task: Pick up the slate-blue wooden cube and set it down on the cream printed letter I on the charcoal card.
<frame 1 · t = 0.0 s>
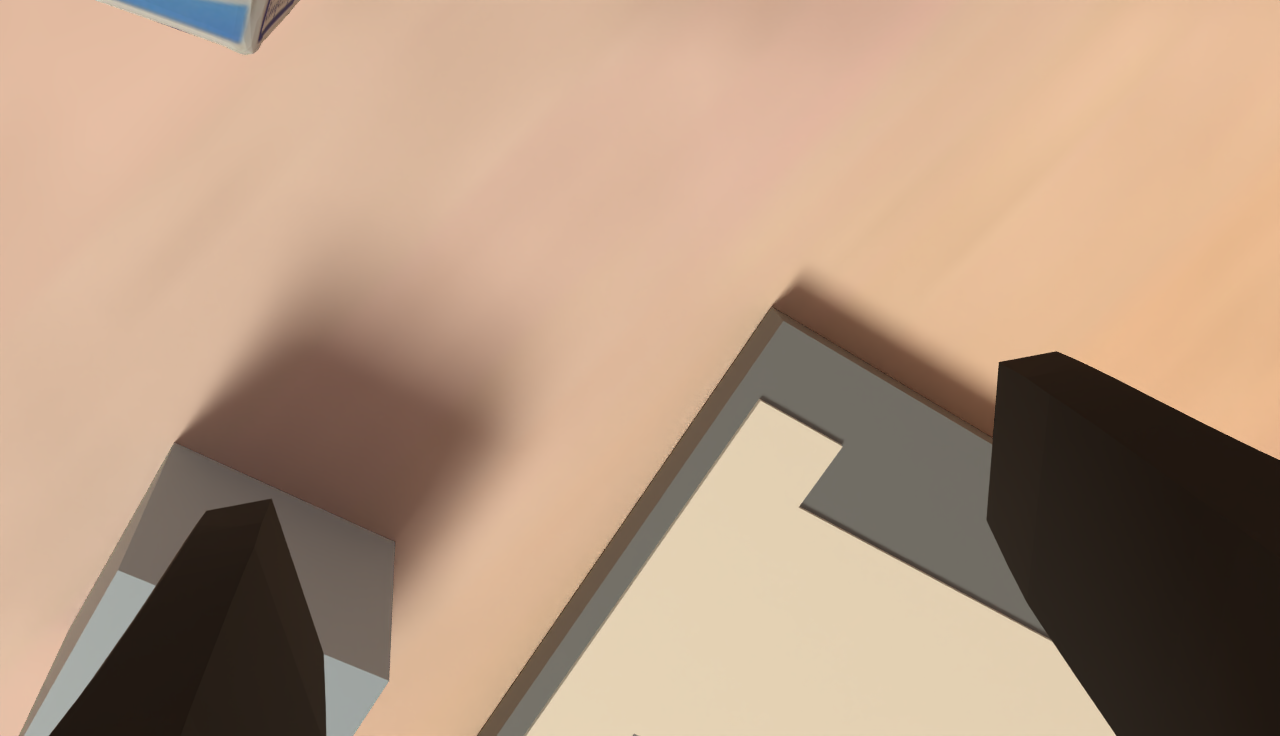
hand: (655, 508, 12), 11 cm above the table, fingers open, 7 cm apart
letter card: (868, 678, 27), on the table
slate cube: (234, 583, 23), on the table
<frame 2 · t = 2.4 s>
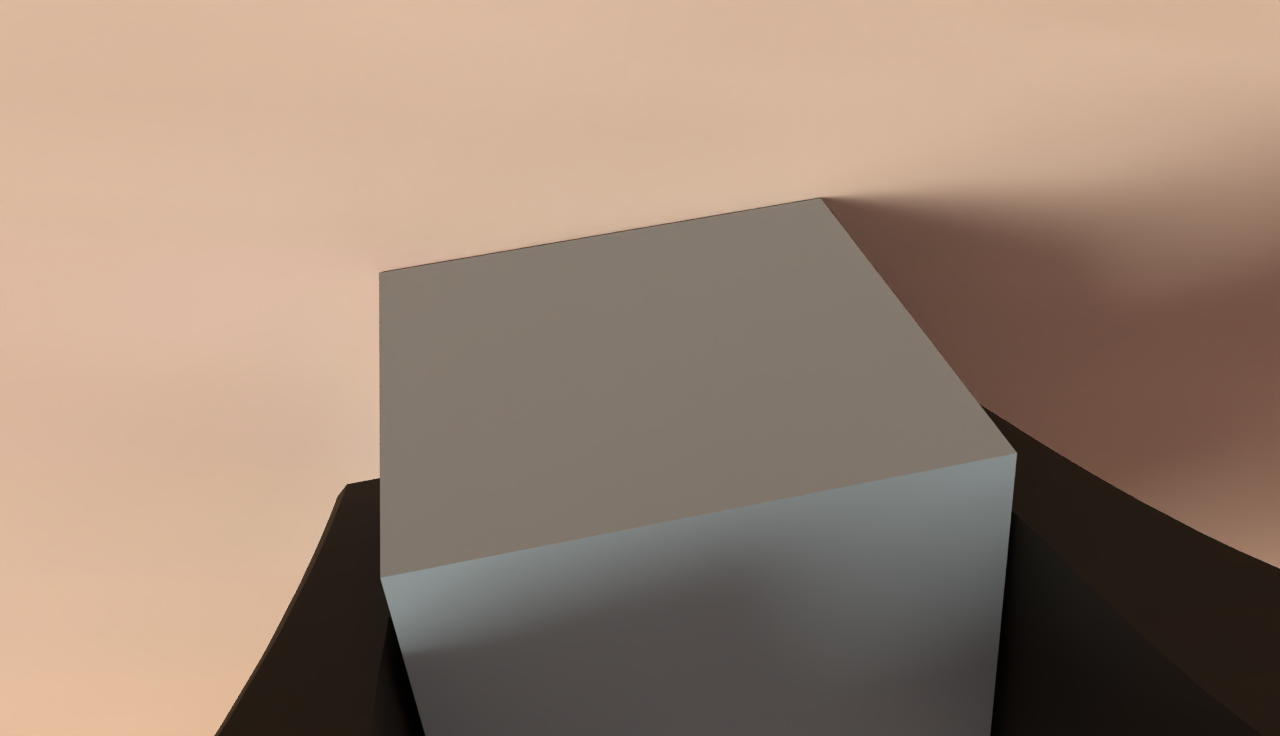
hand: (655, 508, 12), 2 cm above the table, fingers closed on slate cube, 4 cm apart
slate cube: (626, 417, 13), on the table, touching gripper
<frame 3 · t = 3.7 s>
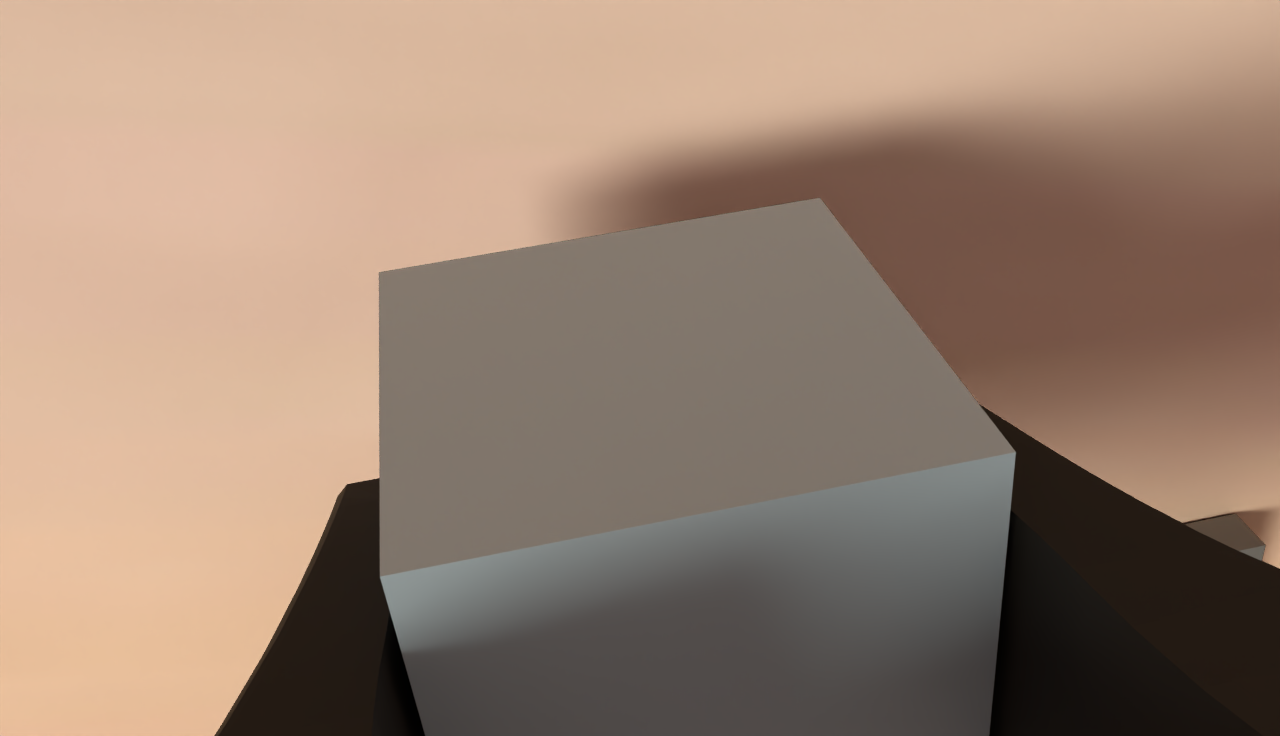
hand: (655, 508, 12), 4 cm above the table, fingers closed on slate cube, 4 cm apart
slate cube: (626, 416, 13), point 3 cm above the table, touching gripper
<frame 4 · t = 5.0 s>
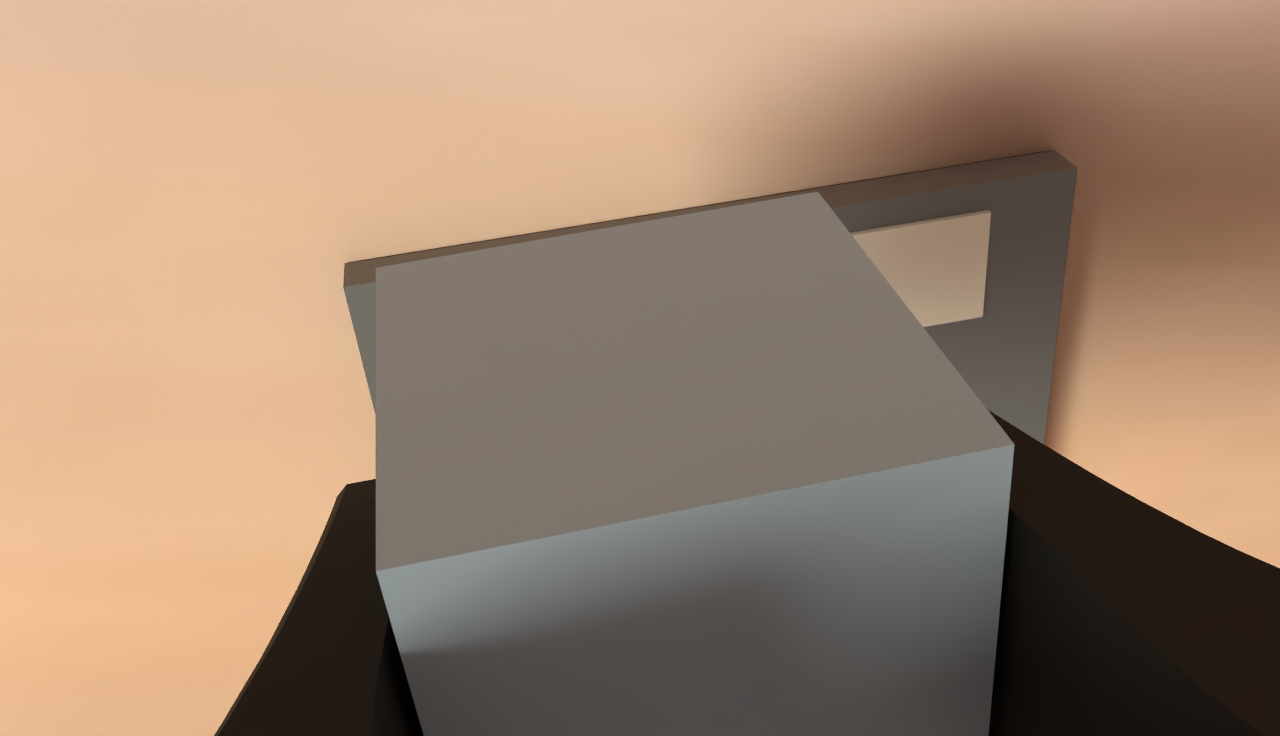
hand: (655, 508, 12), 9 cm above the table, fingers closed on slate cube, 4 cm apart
letter card: (730, 529, 24), on the table
slate cube: (624, 412, 13), point 7 cm above the table, touching gripper
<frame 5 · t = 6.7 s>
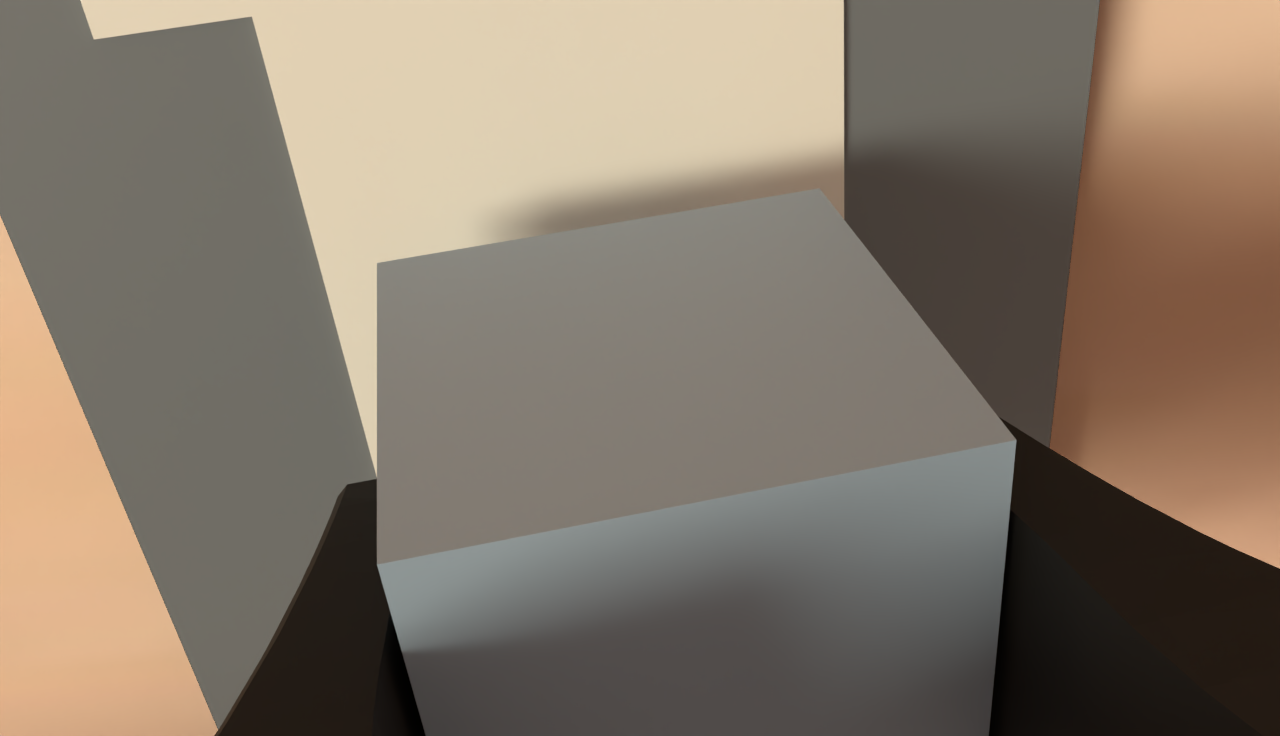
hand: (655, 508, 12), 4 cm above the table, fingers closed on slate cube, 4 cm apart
letter card: (593, 315, 15), on the table
slate cube: (625, 409, 13), point 2 cm above the table, touching gripper
when the fingers open (4 cm above the table, at t = 7.9 s): slate cube drops 1 cm, resting on letter card.
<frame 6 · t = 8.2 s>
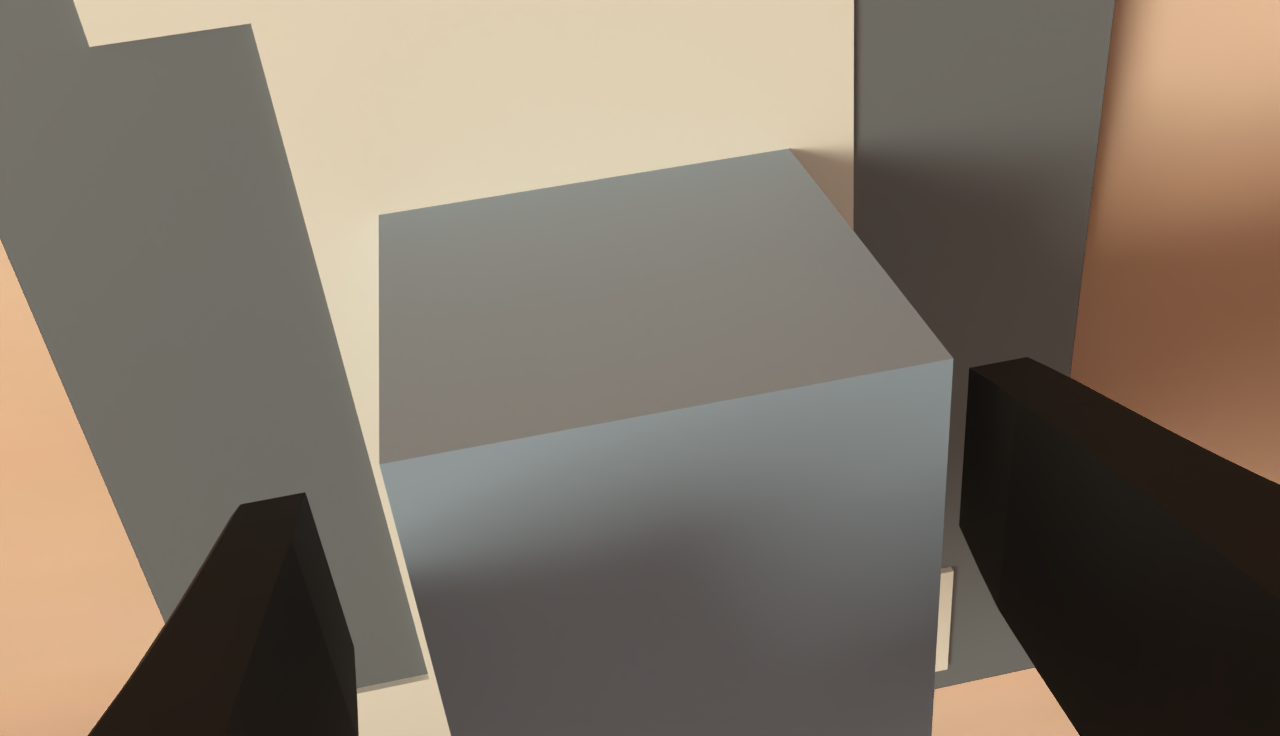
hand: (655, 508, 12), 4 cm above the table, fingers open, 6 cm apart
letter card: (598, 325, 15), on the table
slate cube: (609, 356, 14), point 1 cm above the table, touching letter card
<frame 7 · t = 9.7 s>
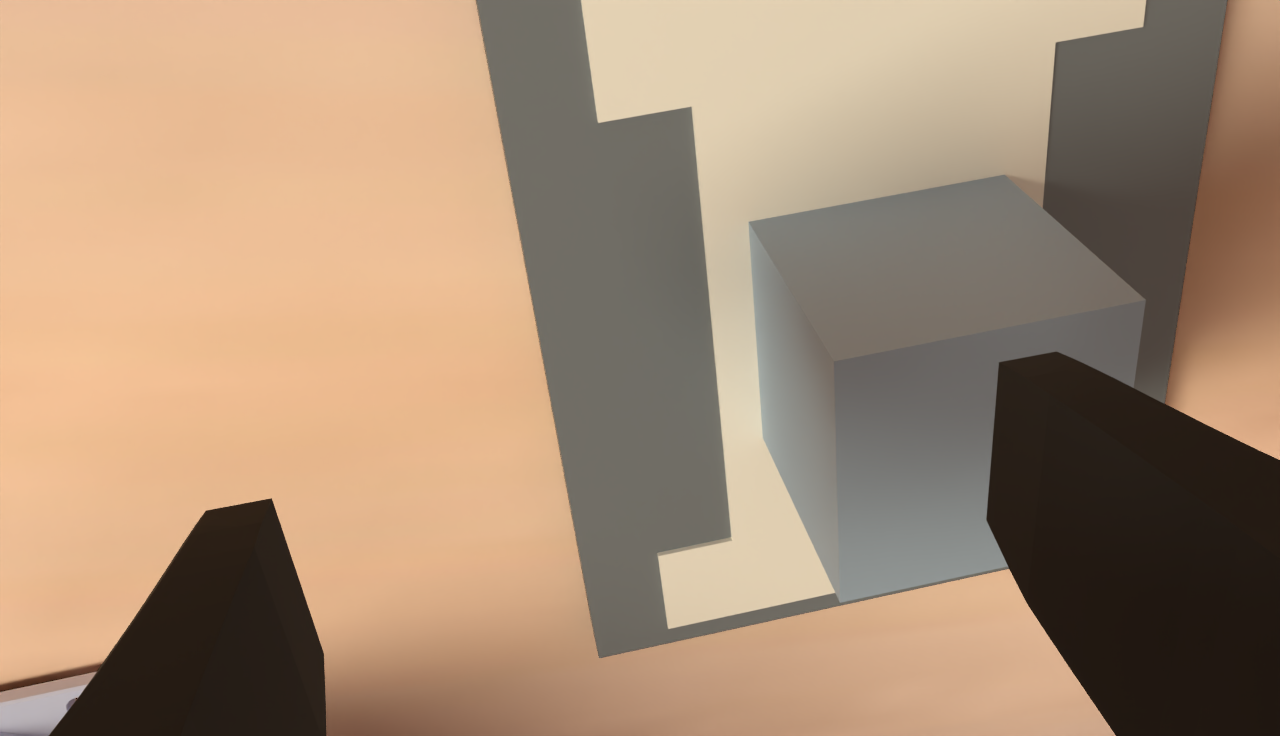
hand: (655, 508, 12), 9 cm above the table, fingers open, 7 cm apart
letter card: (860, 293, 22), on the table
slate cube: (878, 312, 21), point 1 cm above the table, touching letter card
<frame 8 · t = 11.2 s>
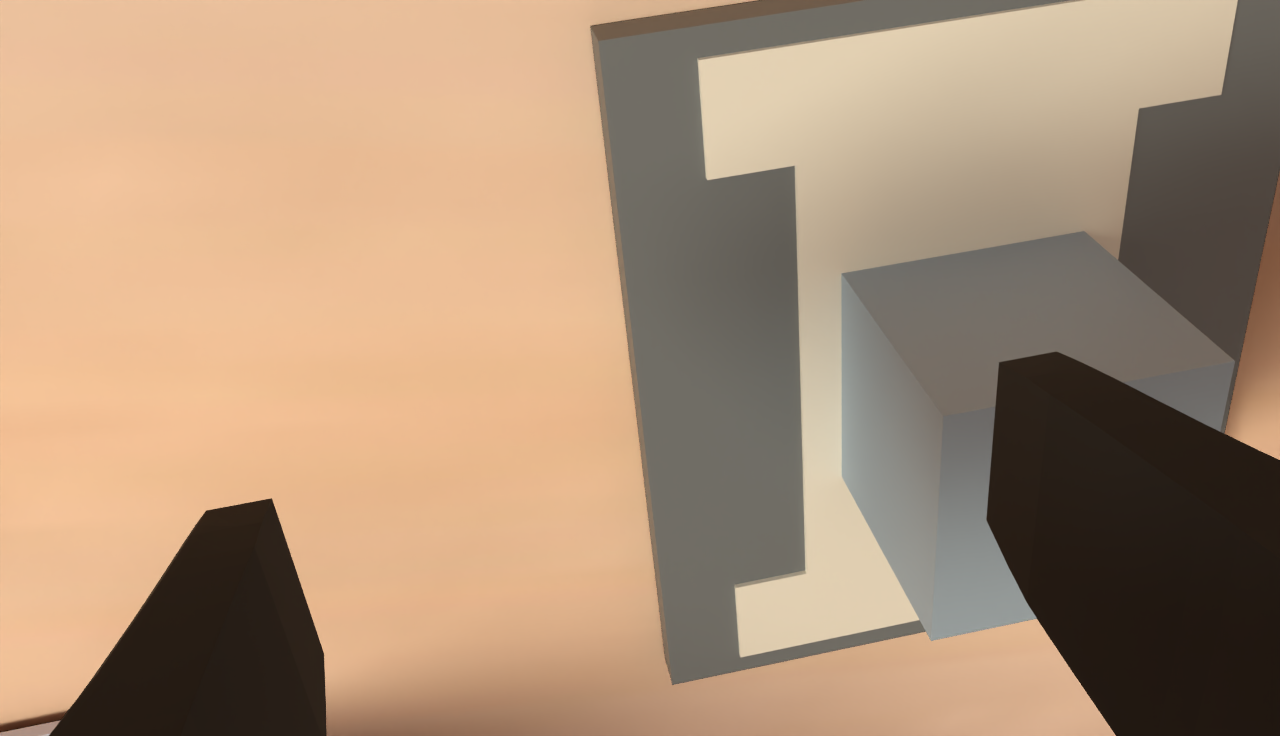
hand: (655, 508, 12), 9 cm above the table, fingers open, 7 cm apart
letter card: (938, 339, 23), on the table
slate cube: (957, 359, 22), point 1 cm above the table, touching letter card
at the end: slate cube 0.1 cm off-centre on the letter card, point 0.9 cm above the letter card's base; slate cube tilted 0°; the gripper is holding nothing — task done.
